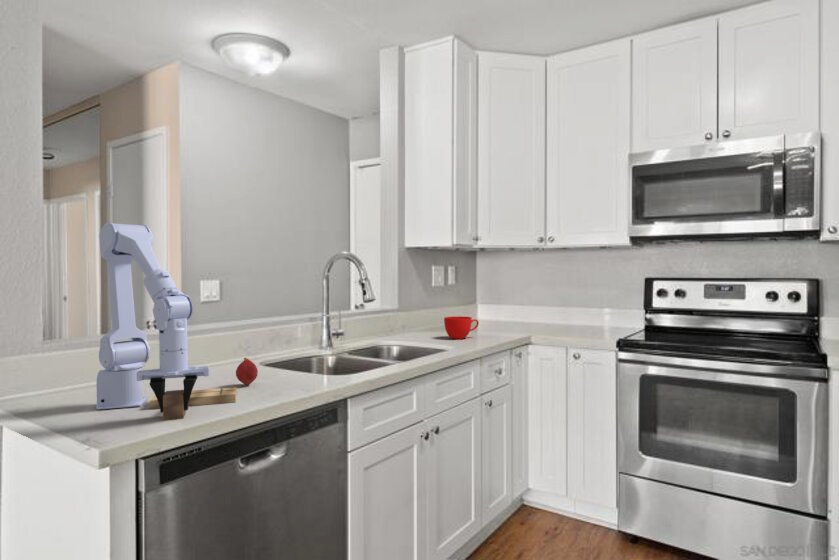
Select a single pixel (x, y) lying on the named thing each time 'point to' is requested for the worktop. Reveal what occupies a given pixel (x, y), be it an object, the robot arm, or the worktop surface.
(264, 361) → the worktop surface
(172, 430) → the worktop surface
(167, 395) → the brown wooden block
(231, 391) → the board
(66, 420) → the worktop surface
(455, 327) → the ceramic cup
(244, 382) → the onion
